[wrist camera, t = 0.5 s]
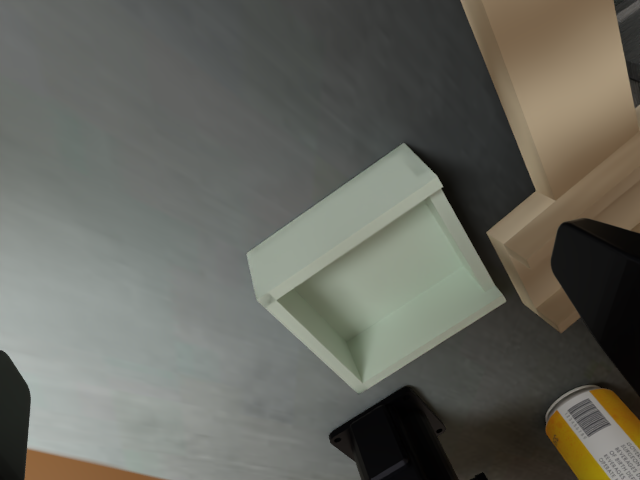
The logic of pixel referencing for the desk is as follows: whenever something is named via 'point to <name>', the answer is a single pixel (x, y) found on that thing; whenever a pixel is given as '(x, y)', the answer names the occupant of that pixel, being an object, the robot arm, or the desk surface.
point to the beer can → (595, 434)
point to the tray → (374, 272)
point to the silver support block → (631, 42)
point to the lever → (560, 131)
